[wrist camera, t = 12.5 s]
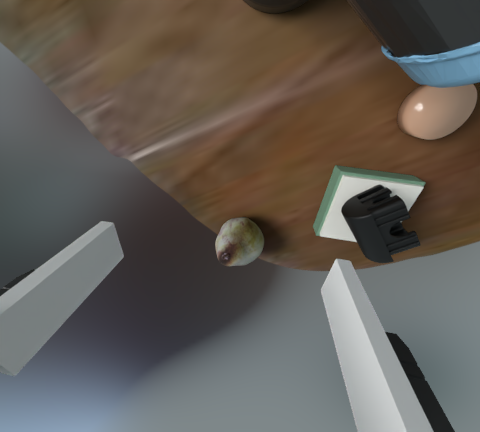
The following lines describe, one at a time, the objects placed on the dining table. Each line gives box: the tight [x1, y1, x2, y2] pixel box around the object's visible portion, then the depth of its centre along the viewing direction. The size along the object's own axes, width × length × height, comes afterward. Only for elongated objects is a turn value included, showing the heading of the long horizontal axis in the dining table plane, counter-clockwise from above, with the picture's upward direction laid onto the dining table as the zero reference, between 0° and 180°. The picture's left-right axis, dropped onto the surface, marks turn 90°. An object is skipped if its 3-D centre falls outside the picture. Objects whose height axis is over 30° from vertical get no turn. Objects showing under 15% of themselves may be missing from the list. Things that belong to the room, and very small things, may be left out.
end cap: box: [341, 184, 420, 263], centre depth 31 cm, size 10×7×7 cm
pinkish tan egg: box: [397, 84, 477, 140], centre depth 27 cm, size 7×7×4 cm
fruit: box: [215, 217, 264, 266], centre depth 38 cm, size 10×9×12 cm
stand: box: [313, 165, 426, 242], centre depth 35 cm, size 13×13×4 cm
